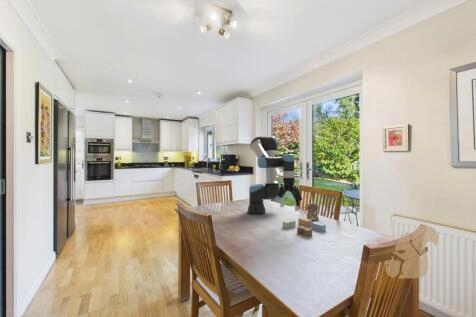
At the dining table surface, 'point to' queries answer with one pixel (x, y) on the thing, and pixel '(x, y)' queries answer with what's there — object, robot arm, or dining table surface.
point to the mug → (312, 211)
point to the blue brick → (318, 226)
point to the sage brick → (289, 224)
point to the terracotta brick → (304, 221)
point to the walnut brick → (304, 231)
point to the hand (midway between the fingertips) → (289, 208)
